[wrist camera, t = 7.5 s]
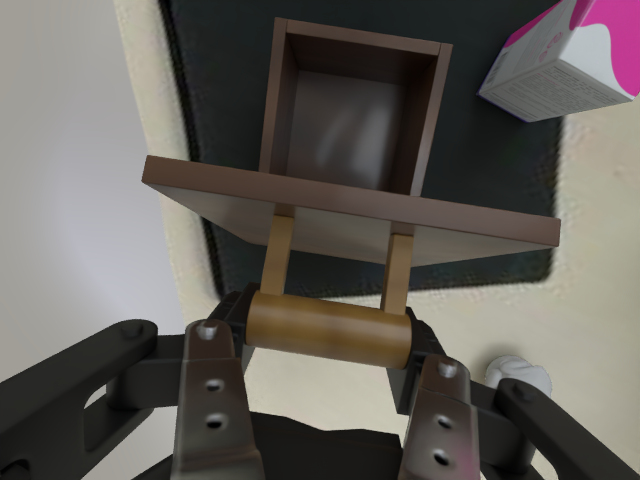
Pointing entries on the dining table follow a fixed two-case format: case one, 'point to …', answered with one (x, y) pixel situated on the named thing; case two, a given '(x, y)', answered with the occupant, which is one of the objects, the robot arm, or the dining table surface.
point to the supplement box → (568, 61)
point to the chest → (351, 106)
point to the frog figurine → (518, 373)
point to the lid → (341, 250)
